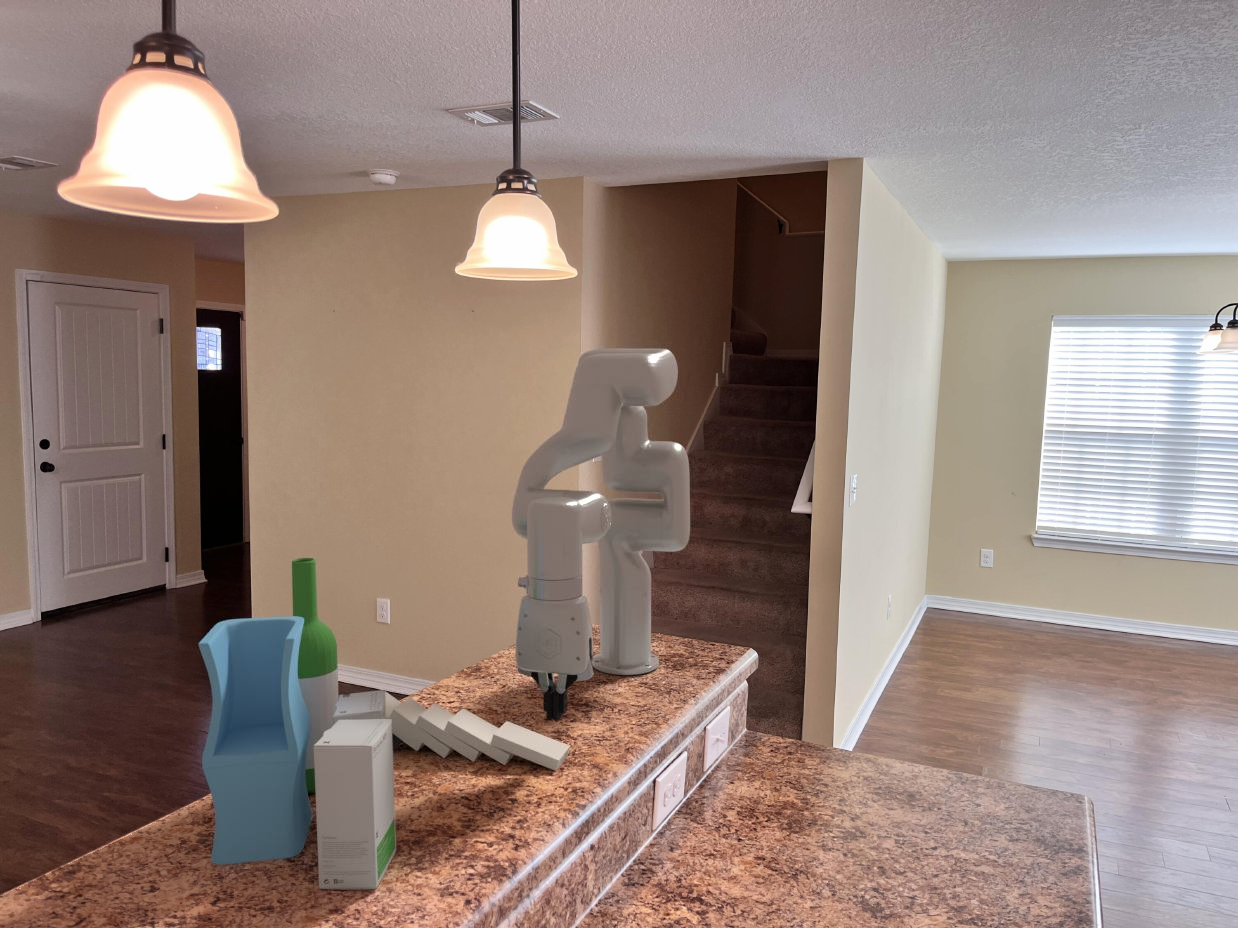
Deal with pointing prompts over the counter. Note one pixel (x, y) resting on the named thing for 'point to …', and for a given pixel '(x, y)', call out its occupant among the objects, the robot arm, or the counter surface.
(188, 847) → the counter surface
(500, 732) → the domino
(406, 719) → the domino
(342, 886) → the skincare box
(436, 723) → the domino
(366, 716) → the skincare box
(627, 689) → the counter surface
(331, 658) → the wine bottle
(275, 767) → the blue chair
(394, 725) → the domino
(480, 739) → the domino
